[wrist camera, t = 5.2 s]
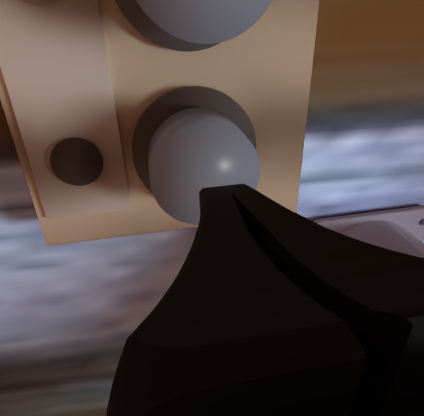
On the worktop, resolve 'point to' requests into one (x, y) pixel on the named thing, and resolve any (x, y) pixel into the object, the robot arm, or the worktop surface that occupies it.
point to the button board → (141, 105)
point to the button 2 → (198, 160)
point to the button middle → (204, 17)
